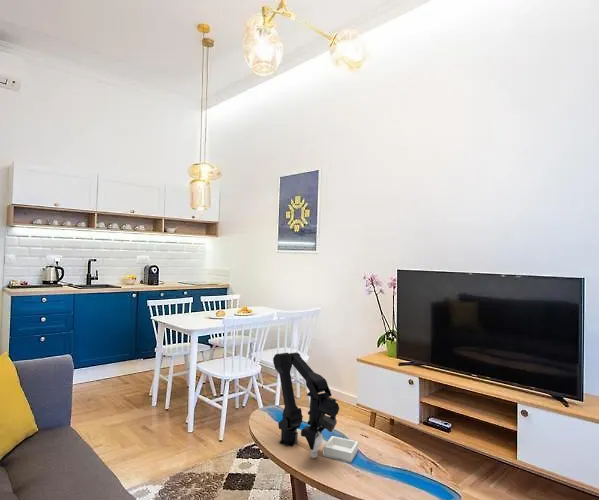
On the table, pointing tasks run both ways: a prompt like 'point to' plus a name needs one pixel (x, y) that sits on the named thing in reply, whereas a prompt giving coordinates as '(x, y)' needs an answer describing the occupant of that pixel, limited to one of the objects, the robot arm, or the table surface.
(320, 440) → the lightbulb
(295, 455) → the table surface
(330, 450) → the tray
